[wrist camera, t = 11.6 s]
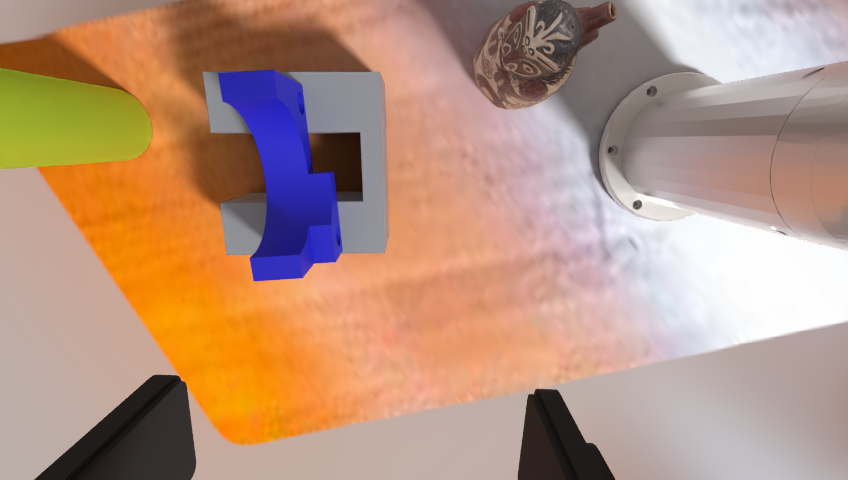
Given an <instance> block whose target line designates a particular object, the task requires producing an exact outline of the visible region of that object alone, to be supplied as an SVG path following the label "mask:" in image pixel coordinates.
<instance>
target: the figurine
mask: <svg viewBox="0 0 848 480" xmlns="http://www.w3.org/2000/svg"><path fill="white" fill-rule="evenodd" d="M616 17H617V12H616V9H615V6H614V5H613V4H612V3H611V2H606V3H604V4H601V5H599V6H597V7H593V8H589V7H588V8H576V9H575V8H573V7H572V6H571V5H570V4H568V3H566V2H564V1H561V0H547V1H545V2H543V1H531V2H528V3H525V4H523V5H520V6H518V7H516V8H515V9H514V10H513V11H512V12H510V13H509V14H508V15H506V16H504V17H502V18H501V19H499V20H498V21H496V22H495V23H494V24H493V25H492V26H491V28H490V29H489V31H488V32H487V34H486V36H485V38H484V40H483V42H482V44H481V45H480V47H479V48H478V50H477V51H476V54H475V57H474V59H473V66H474V71H475V82H476V85H477V86H478V87H479V88H480V89H481V90H482V92H483V93H484V94H485V96H486V97H488V98H489V99H490V100H491V102H492V103H494V104H495V105H496V106H497V107H499V108H504V109H521V108H526V107H530V106H533V105H536V104H538V103H540V102H542V101H544V100H545V99H547V98H548V97H550V96H551V95H552V94H554V93H555V92H556V91H557V90H558V89H559V88H560V87H561V86H562V85H563V84H564V83H565V81H566V80H567V79H568V77H569V76H570V74H571V72H572V70H573V68H574V65H575V62H576V57H577V53H578V51H579V50H580V49H581V48H583V47H584V46H586V45H587V44H589V43H590V42H592V41H593V40H594V39H596V38H597V37H598V28H600V27H602V26H604V25H606V24H608V23H610V22H612V21H614V20H615V19H616Z"/></svg>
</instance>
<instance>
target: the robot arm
mask: <svg viewBox="0 0 848 480" xmlns="http://www.w3.org/2000/svg"><path fill="white" fill-rule="evenodd" d="M647 91H648V95H647ZM609 147H610V152H609V153H608V149H609ZM599 168H600V172H601V176H602V180H603V182H604V185H605V187H606V189H607V191H608V193H609V194H610V195H611V197H612V198H613V199H614V201H615V202H616V203H618V204H619V205H620V206H621V207H622V208H623V209H625V210H627V211H628V212H630V213H632V214H634V215H637V216H640V217H642V218H645V219H650V220H656V221H672V220H677V219H682V218H686V217H688V216H691V215H693V214H696V213H697V214H701V215H705V216H709V217H713V218H717V219H721V220H725V221H729V222H733V223H737V224H741V225H745V226H749V227H753V228H757V229H761V230H765V231H769V232H773V233H777V234H781V235H785V236H789V237H793V238H797V239H801V240H804V241H808V242H812V243H816V244H821V245H826V246H830V247H834V248H838V249H842V250H847V251H848V61H845V62H840V63H834V64H829V65H823V66H818V67H812V68H807V69H801V70H796V71H790V72H785V73H779V74H774V75H768V76H763V77H757V78H752V79H746V80H741V81H735V82H730V83H724V84H722V83H721V82H719V81H717V80H716V79H714V78H712V77H709V76H706V75H704V74H701V73H692V72H680V73H671V74H667V75H664V76H660V77H657V78H655V79H652V80H650V81H647V82H645V83H644V84H642V85H640V86H639V87H637V88H636V89H634V90H633V91H632V92H631V93H629V94H628V95H627V96H626V97H625V98H624V99H623V100H622V101H621V102H620V104H619V105H618V106H617V107H616V109H615V110H614V111H613V113H612V114H611V116H610V118H609V120H608V122H607V124H606V126H605V129H604V132H603V135H602V138H601V142H600V149H599ZM633 202H634V205H633ZM195 468H196V457H195V450H194V442H193V434H192V425H191V417H190V409H189V401H188V393H187V386H186V383H185V382H183V381H181V379H180V377H179V376H177V375H153V376H152V377H150V378H149V379H148V380H147V381H146V382H145V383H144V384H143V385H141V386H140V387H139V388H138V389H137V390H136V391H134V392H133V393H132V394H131V395H130V396H129V397H128V398H126V399H125V400H124V401H123V402H122V403H121V404H120V405H119V406H117V407H116V408H115V409H114V410H113V411H112V412H111V413H109V414H108V415H107V416H106V417H105V418H104V419H103V420H102V421H100V422H99V423H98V424H97V425H96V426H95V427H94V428H92V429H91V430H90V431H89V432H88V433H87V434H86V435H85V436H83V437H82V438H81V439H80V440H79V441H78V442H76V443H75V444H74V445H73V446H72V447H71V448H70V449H69V450H67V451H66V452H65V453H64V454H63V455H62V456H61V457H59V459H57V460H56V461H55V462H54V463H53V464H52V465H51V466H49V467H48V468H47V469H46V470H45V471H44V472H42V473H41V474H40V475H39V476H38V477H37V478H36V479H35V480H191V478H192V477H193V474H194V472H195ZM518 480H615V478H614V476H613V474H612V473H611V471H610V469H609V467H608V466H607V464H606V462H605V460H604V458H603V457H602V455H601V453H600V451H599V450H598V448H597V447H596V445H594V444H593V443H586V442H585V440H584V438H583V436H582V434H581V432H580V431H579V429H578V427H577V425H576V423H575V421H574V419H573V417H572V415H571V414H570V412H569V410H568V408H567V406H566V404H565V402H564V401H563V398H562V396H561V395H560V393H559V392H558V391H557V390H552V389H536V390H535V392H534V394H529V395H528V399H527V407H526V415H525V422H524V430H523V438H522V446H521V454H520V462H519V470H518Z"/></svg>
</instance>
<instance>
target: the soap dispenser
mask: <svg viewBox="0 0 848 480" xmlns="http://www.w3.org/2000/svg"><path fill="white" fill-rule="evenodd" d="M151 138H152V124H151V120H150V117H149V115H148V113H147V111H146V109H145V108H144V106H143V105H142V104H141V103H140V102H139V101H138V100H137V99H136V98H135V97H134V96H132V95H131V94H129V93H127V92H125V91H123V90H120V89H116V88H110V87H105V86H99V85H94V84H88V83H83V82H77V81H71V80H66V79H60V78H55V77H49V76H43V75H38V74H32V73H27V72H21V71H15V70H10V69H4V68H0V169H11V168H27V167H41V166H56V165H70V164H84V163H99V162H113V161H127V160H131V159H134V158H136V157H138V156H140V155H141V154H142V153H144V151H145V150H146V149H147V148H148V146H149V144H150V141H151Z"/></svg>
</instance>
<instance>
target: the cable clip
mask: <svg viewBox="0 0 848 480" xmlns="http://www.w3.org/2000/svg"><path fill="white" fill-rule="evenodd" d="M218 77H219V83H220V89H221V95H222V101H223V102H224V103H227V104H229V105H231V106H232V107H233V108H235V109H236V110H237V111H238V112H239V114H240V115H241V116H242V117H243V119H244V120H245V122H246V124H247V125H248V127H249V129H250V131H251V133H252V135H253V137H254V140H255V142H256V145H257V148H258V151H259V154H260V158H261V162H262V166H263V171H264V177H265V185H266V198H267V210H266V222H265V228H264V233H263V236H262V240H261V242H260V245H259V247H258V249H257V250H256V252H255V253H254V254H253V256H251V257H250V262H251V268H252V274H253V280H254V281H265V280H280V279H295V278H303V277H304V276H305V274H306V273H307V272H308V270H309V269H310V268H311V267H312V265H313V264H314V263H328V262H336V261H337V259H338V257H339V256H340V254H341V252H342V251H343V248H342V240H341V231H340V222H339V213H338V204H337V195H336V186H335V177H334V171H331V172H314V173H313V167H312V159H311V151H310V143H309V135H308V127H307V119H306V111H305V103H304V95H303V87H302V85H301V84H299V83H298V82H296V81H294V80H292V79H290V78H288V77H286V76H284V75H282V74H280V73H278V72H277V71H275V70H261V71H243V72H225V73H218Z"/></svg>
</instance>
